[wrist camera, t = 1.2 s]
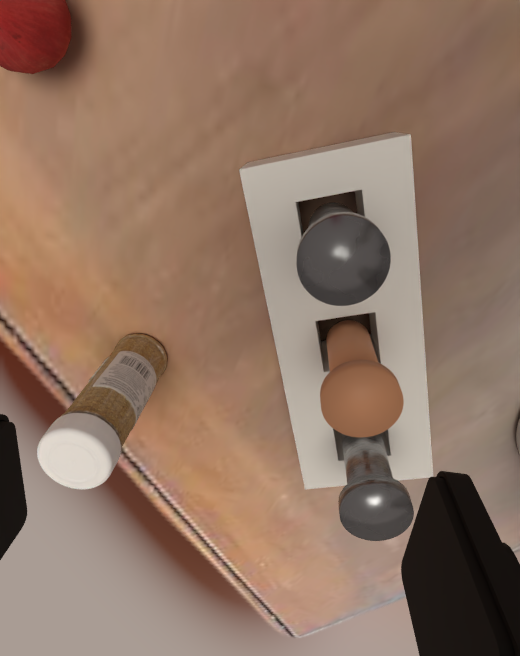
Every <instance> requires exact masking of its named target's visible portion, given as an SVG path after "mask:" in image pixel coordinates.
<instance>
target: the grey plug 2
mask: <svg viewBox="0 0 520 656" xmlns="http://www.w3.org/2000/svg"><path fill="white" fill-rule="evenodd" d="M341 439H342V447H343V454H344V462H345V470H346V478H347V485H346V486H345V487H344V488H343V490H342V491H341V493H340V496H339V501H338V502H339V513H340V520H341V522H342V524H343V526H344V527H345V529H346V530H347V531H348V532H350V533H351V534H353V535H354V536H356V537H358V538H361V539H365V540H370V541H381V540H387V539H391V538H394V537H396V536H398V535H400V534H401V533H403V532H404V531H405V530H406V529H407V528H408V527H409V526H410V524H411V522H412V520H413V516H414V511H413V506H412V503H411V499H410V496H409V493H408V491H407V489H406V488H405V487H404V485H403V484H401V483H400V482H399V481H397V480H395V479H394V478H393V476H392V472H391V468H390V464H389V461H388V457H387V453H386V449H385V445H384V441H383V437H382V433H380V434H378V435H374V436H370V437H351V436H347V435H344V434H342V433H341Z"/></svg>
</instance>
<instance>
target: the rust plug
mask: <svg viewBox="0 0 520 656" xmlns="http://www.w3.org/2000/svg"><path fill="white" fill-rule="evenodd" d="M326 343H327V352H328V361H329V369H330V372H329V373H328V375H327V376H326V377H325V379H324V381H323V383H322V385H321V389H320V402H321V411H322V414H323V416H324V418H325V420H326V422H327V423H328V424H329V425H330V426H331V427H332V428H333V429H335V430H336V431H338V432H340V433H342V434H344V435H347V436H351V437H370V436H374V435H378V434H380V433H382V432H384V431H386V430H387V429H389V428H390V427H391V426H393V425H394V424H395V422H396V421H397V420H398V418H399V417H400V415H401V413H402V410H403V404H404V399H403V394H402V391H401V388H400V386H399V383H398V380H397V378H396V376H395V375H394V374H393V373H392V371H391V370H390V369H388V368H387V367H386V366H384V365H382V364H380V363H378V360H377V357H376V354H375V351H374V347H373V344H372V341H371V338H370V335H369V332H368V330H367V329H366V327H365V326H364V325H362V324H361V323H359V322H357V321H353V320H345V321H341V322H339V323H337V324H335V325H334V326H333V327H332V328H331V329H330V330H329V332H328V334H327V338H326Z"/></svg>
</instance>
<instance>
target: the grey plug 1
mask: <svg viewBox="0 0 520 656" xmlns="http://www.w3.org/2000/svg"><path fill="white" fill-rule="evenodd" d="M390 262H391V254H390V249H389V245H388V242H387V240H386V238H385V237H384V235H383V234H382V232H381V231H380V229H379V228H378V227H377V226H376V225H375V224H374V223H373V222H372V221H371V220H369V219H368V218H366V217H364V216H362V215H360V214H357V213H353V212H352V211H351V210H350V209H349V208H348V207H347V206H345V205H343V204H341V203H336V202H332V203H327V204H324V205H322V206H320V207H319V208H317V209H316V210H315V211H314V213H313V214H312V216H311V218H310V221H309V227H308V229H307V230H306V231H305V233H304V234H303V236H302V238H301V240H300V242H299V245H298V249H297V262H296V265H297V272H298V276H299V279H300V281H301V283H302V285H303V287H304V288H305V289H306V291H307V292H308V293H309V294H310V295H312V296H313V297H314V298H316V299H317V300H319V301H321V302H323V303H326V304H329V305H334V306H349V305H353V304H357V303H360V302H362V301H364V300H366V299H368V298H369V297H371V296H372V295H373V294H374V293H376V292H377V290H378V289H379V288H380V287H381V286H382V284H383V283H384V281H385V279H386V277H387V275H388V272H389V269H390Z"/></svg>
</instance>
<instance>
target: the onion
mask: <svg viewBox="0 0 520 656" xmlns="http://www.w3.org/2000/svg"><path fill="white" fill-rule="evenodd" d="M70 40H71V16H70V13H69V10H68V7H67V4H66V1H65V0H0V66H1V67H3V68H5V69H7V70H10V71H14V72H22V73H30V74H34V73H37V72H40V71H43V70H46V69H49V68H53V67H54V66H55V65H56V64H57V63H58V62H59V61H60V60H61V59H62V58H63V57H64V56H65V54H66V51H67V48H68V46H69V43H70Z"/></svg>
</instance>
